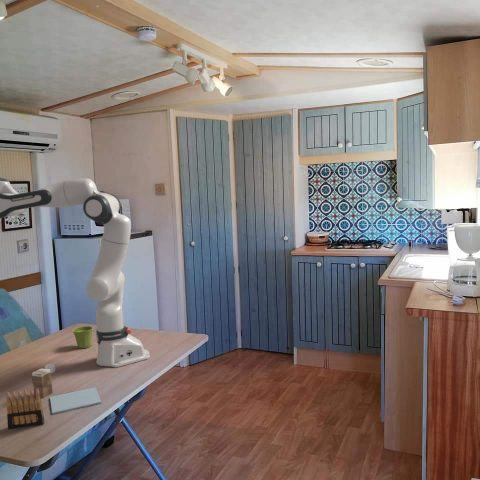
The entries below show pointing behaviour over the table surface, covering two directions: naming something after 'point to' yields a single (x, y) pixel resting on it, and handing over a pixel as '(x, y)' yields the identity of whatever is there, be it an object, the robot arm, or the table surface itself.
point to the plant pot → (83, 336)
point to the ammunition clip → (21, 416)
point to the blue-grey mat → (74, 400)
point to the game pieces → (50, 367)
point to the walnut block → (42, 382)
